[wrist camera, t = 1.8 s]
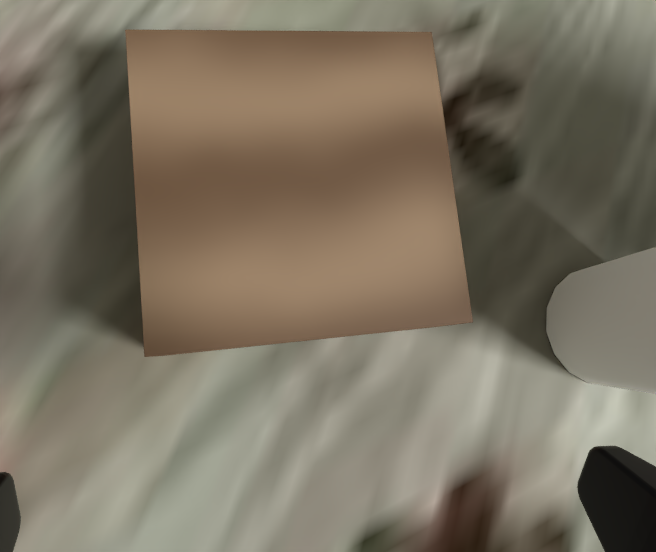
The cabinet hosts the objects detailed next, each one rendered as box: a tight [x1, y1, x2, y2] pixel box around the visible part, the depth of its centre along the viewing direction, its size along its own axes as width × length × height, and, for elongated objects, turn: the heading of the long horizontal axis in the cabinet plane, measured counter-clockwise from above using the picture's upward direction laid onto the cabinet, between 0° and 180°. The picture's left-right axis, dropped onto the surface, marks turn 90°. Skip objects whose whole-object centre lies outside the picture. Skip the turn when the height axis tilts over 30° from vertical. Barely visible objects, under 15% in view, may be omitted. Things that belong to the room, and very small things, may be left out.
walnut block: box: [125, 30, 473, 357], centre depth 21 cm, size 12×12×4 cm
